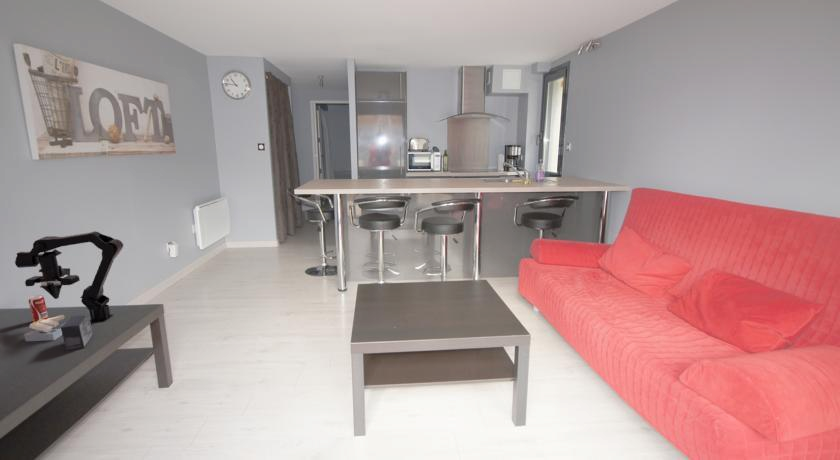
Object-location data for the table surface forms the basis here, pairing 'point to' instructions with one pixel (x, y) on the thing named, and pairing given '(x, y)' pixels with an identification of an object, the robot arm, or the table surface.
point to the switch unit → (44, 334)
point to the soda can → (38, 308)
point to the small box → (77, 332)
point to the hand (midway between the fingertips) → (56, 298)
